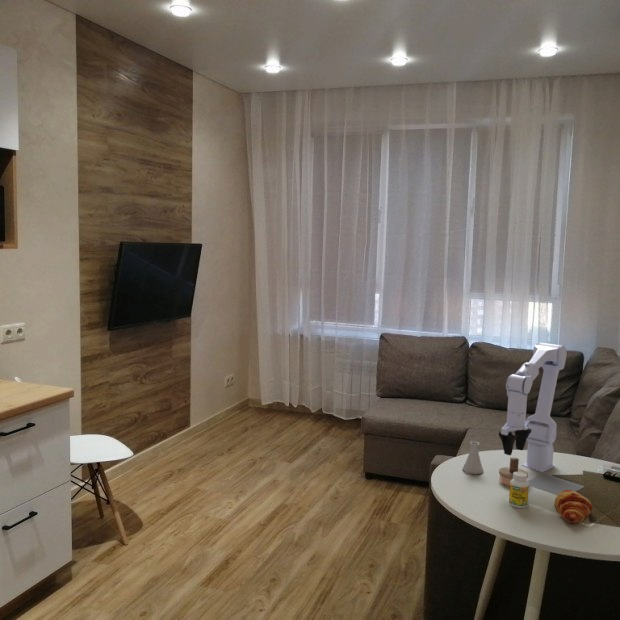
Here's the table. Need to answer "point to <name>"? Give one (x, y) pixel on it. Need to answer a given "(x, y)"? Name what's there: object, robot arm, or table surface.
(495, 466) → the table surface
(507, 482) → the bowl
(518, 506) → the supplement bottle
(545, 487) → the mat
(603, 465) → the table surface
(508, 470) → the lid
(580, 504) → the croissant
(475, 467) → the flask
